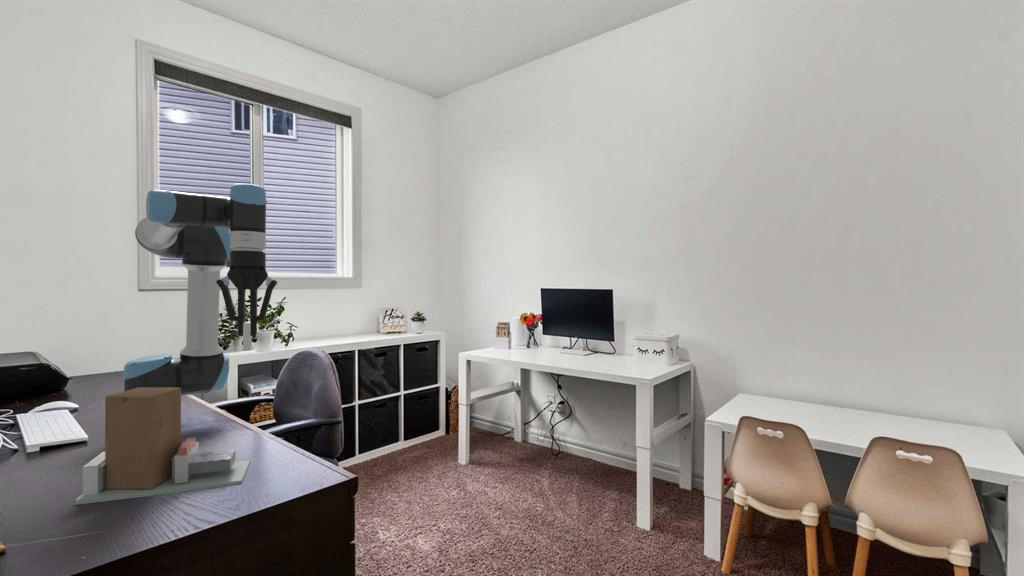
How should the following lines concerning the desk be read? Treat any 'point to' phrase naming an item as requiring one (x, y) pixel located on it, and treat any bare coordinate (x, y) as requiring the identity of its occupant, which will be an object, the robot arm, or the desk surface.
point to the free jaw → (198, 461)
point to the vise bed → (98, 493)
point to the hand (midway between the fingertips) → (247, 349)
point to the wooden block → (141, 436)
